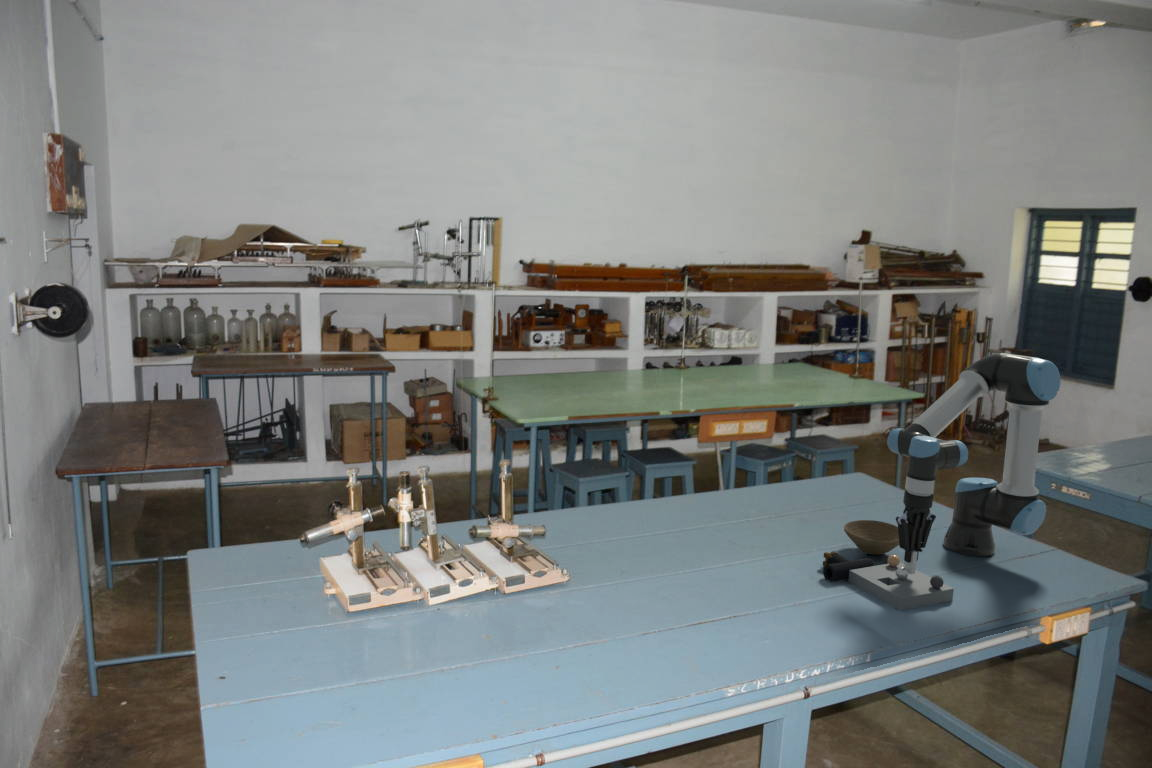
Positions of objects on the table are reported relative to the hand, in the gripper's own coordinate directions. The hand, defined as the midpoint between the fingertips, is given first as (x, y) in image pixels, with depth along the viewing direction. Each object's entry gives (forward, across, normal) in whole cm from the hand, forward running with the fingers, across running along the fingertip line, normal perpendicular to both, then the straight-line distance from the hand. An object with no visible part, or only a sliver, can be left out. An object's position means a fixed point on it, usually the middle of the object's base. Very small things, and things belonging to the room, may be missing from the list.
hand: (909, 572), depth 242 cm
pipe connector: (+6, +10, -16) cm, 20 cm away
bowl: (+5, -11, -25) cm, 28 cm away
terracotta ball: (+2, -2, -8) cm, 8 cm away
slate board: (+5, +3, 0) cm, 6 cm away
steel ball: (-2, +3, 0) cm, 4 cm away
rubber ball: (+2, -2, +8) cm, 8 cm away
